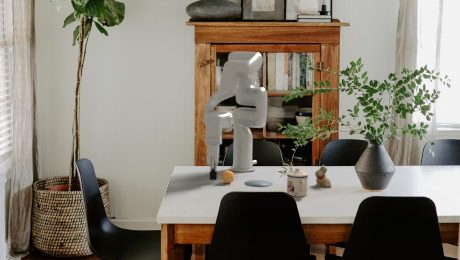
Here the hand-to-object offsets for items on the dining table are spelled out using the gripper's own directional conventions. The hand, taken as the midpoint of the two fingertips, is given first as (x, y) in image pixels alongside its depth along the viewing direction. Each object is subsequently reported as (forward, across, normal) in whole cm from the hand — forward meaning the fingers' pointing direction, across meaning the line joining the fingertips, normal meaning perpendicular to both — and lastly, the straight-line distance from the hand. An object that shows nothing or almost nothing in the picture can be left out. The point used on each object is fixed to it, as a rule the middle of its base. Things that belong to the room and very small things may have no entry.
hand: (213, 179), depth 320 cm
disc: (+2, 0, +21) cm, 21 cm away
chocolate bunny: (+2, +2, +51) cm, 51 cm away
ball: (-2, 0, +7) cm, 7 cm away
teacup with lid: (+2, +21, +38) cm, 43 cm away
